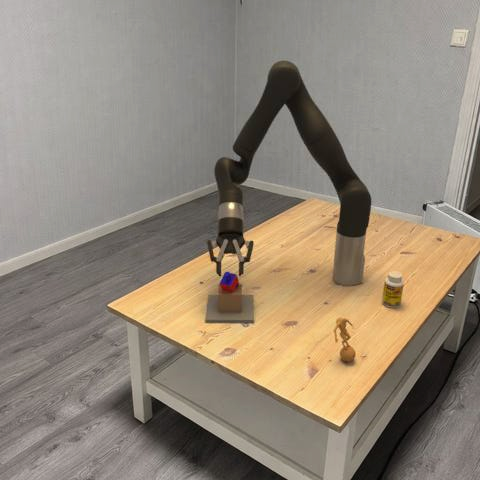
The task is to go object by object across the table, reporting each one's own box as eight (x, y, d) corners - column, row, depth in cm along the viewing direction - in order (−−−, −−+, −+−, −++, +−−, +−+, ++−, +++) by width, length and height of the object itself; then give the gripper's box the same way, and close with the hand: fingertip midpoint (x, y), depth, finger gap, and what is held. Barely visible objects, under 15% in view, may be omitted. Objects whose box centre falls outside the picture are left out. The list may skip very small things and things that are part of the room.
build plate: (253, 297, 165) (253, 277, 162) (254, 322, 152) (254, 302, 149) (208, 297, 165) (207, 277, 162) (205, 322, 152) (204, 301, 149)
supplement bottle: (381, 306, 160) (385, 277, 156) (382, 297, 165) (386, 268, 161) (400, 309, 159) (404, 280, 154) (400, 300, 163) (405, 271, 159)
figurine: (345, 371, 133) (349, 331, 128) (324, 361, 137) (328, 321, 131) (362, 355, 138) (366, 317, 133) (342, 346, 142) (346, 308, 137)
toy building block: (223, 293, 157) (217, 277, 150) (228, 281, 159) (223, 266, 153) (234, 295, 155) (228, 280, 149) (239, 284, 158) (234, 268, 151)
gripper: (205, 215, 154) (203, 271, 148) (255, 215, 154) (255, 272, 148) (207, 225, 161) (205, 279, 155) (254, 225, 161) (254, 279, 155)
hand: (230, 275), depth 152 cm, fingers open, 5 cm apart
